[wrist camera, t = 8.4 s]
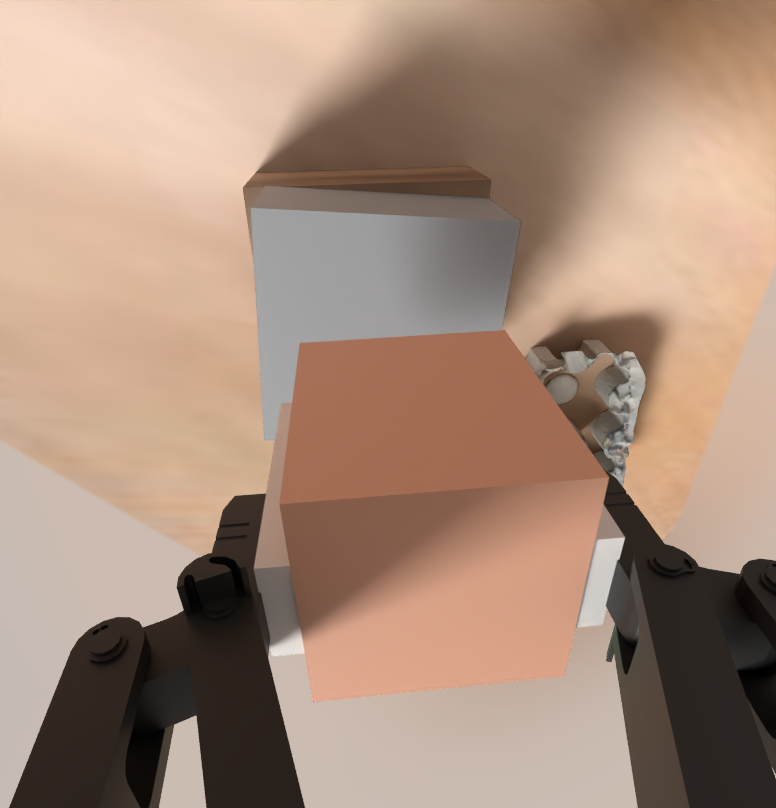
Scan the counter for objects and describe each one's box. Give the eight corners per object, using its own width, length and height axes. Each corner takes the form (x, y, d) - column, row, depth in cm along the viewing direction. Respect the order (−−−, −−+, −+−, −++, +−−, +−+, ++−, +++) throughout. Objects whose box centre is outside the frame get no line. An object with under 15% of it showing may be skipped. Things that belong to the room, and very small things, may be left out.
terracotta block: (299, 343, 16) (279, 504, 10) (504, 329, 16) (609, 477, 10) (319, 503, 19) (312, 702, 13) (490, 489, 19) (564, 676, 13)
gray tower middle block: (265, 185, 24) (250, 207, 19) (488, 198, 25) (521, 221, 20) (274, 387, 29) (264, 440, 24) (459, 389, 30) (481, 441, 25)
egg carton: (510, 341, 34) (531, 371, 31) (626, 331, 34) (660, 359, 31) (501, 476, 39) (517, 514, 36) (601, 466, 40) (628, 503, 36)
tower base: (256, 172, 28) (242, 187, 24) (466, 165, 29) (490, 179, 24) (281, 364, 33) (274, 405, 29) (456, 354, 34) (475, 392, 30)
